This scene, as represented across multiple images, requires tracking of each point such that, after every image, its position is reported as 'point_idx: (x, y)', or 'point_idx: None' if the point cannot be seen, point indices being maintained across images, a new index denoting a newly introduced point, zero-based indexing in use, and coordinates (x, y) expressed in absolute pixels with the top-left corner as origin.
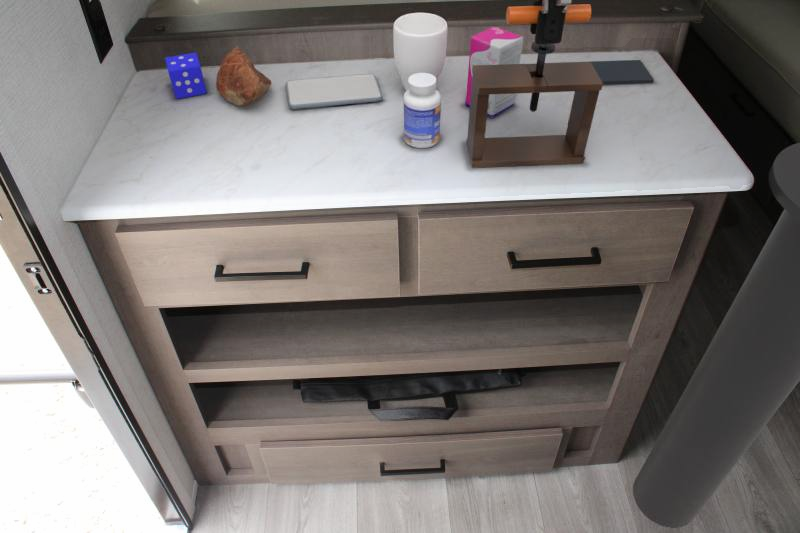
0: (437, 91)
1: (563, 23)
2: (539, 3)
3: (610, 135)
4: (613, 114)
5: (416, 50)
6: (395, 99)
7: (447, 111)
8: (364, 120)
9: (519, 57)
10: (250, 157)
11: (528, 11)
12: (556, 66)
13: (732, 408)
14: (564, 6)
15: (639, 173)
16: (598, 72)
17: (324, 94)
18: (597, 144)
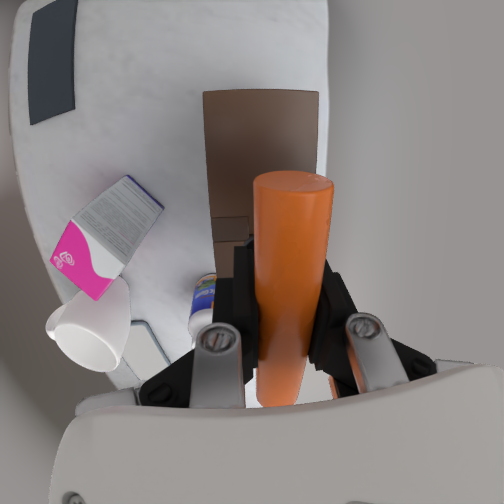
0: (205, 319)
1: (333, 278)
2: (253, 364)
3: (208, 43)
4: (150, 32)
5: (123, 343)
6: (137, 308)
7: (152, 259)
8: (183, 334)
9: (94, 205)
10: (246, 388)
11: (298, 380)
12: (227, 178)
13: None
14: (413, 353)
15: (308, 33)
16: (50, 57)
17: (153, 362)
18: (232, 65)
